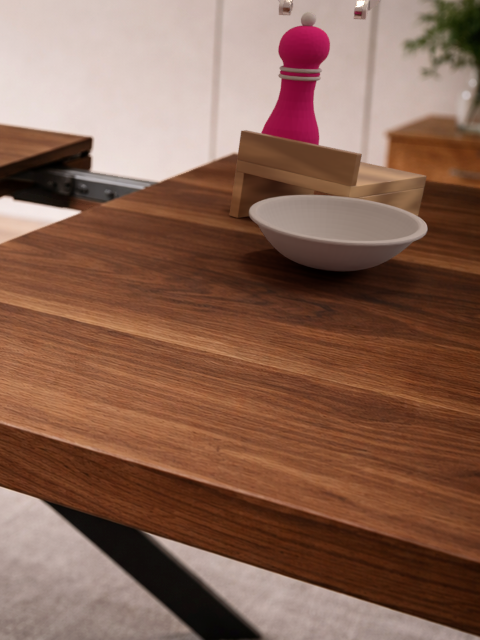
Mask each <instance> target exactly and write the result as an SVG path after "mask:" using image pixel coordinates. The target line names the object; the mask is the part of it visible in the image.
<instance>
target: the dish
mask: <svg viewBox="0 0 480 640" xmlns="http://www.w3.org/2000/svg"><path fill="white" fill-rule="evenodd" d="M248 217H249V218H250V220H252V222H254V223H255V224H256V225H257V226H258V228H259V230H260V231H261V234H262V235H263V236H264V237H265V239H266V240H267V242H268V243H269V244H270V245H271V246H272V248H274V249H275V250H276V251H277V252H278V253H279V254H280V255H282V256H283V257H285V258H287V259H288V260H290V261H292V262H293V263H297V264H299V265H302V266H304V267H308V268H311V269H315V270H316V269H317V270H321V271H327V272H355V271H356V272H357V271H363V270H367V269H371V268H373V267H377V266H379V265H381V264H383V263H386V262H388V261H389V260H392V259H393V258H395V257H396V256H397V255H399V254H400V253H402V252H403V251H404V250H406V249H407V248H408V247H409V246H411V244H412V243H413V242H416V241H418V240H421V239H422V238H424V236H426V235H427V233H428V225H427V223H426V222H425V221H424V219H422V218H421V217H420V216H419V215H418V216H416V215H414V214H412V213H410V212H408V211H405V210H403V209H400V208H397V207H394V206H390V205H387V204H383V203H378V202H374V201H369V200H363V199H357V198H349V197H340V196H334V195H329V194H325V195H324V194H314V195H290V196H280V197H274V198H269V199H265V200H262V201H259V202H257V203H255V204H254V205H252V206H251V207H250V210H249V216H248Z"/></svg>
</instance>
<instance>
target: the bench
mask: <svg viewBox="0 0 480 640" xmlns="http://www.w3.org/2000/svg"><path fill="white" fill-rule="evenodd" d="M236 157H237V158H236V159H237V160H236V164H235V165H236V166H235V172H234V179H233V187H232V194H231V200H230V208H229V217H232V218H236V219H241V218H246V217H247V218H248V217H250V216H249V210H250V207H251V206H252V205H254V204H255V203H257V202H259V201H262V200H265V199H269V198H274V197H280V196H290V195H315V192H318V193H322V194H325V195H329V196H340V197H349V198H357V199H363V200H369V201H374V202H378V203H383V204H387V205H390V206H394V207H397V208H400V209H403V210H405V211H408V212H410V213H412V214H414V215H416V216H418V217H419V214H420V209H421V204H422V200H423V195H424V191H425V187H426V181H427V177H428V176H427V175H425V174H421V173H416V172H411V171H406V170H401V169H396V168H392V167H387V166H383V165H377V164H372V163H369V162H368V163H367V162H363V161H362V153H360V152H354V151H350V150H345V149H340V148H335V147H330V146H325V145H320V144H319V145H316V144H311V143H306V142H301V141H296V140H291V139H287V138H282V137H277V136H272V135H267V134H262V133H261V132H257V131H252V130H247V129H245V130H244V129H243V130H241V131H240V136H239V144H238V151H237V156H236Z"/></svg>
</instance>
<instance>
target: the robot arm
mask: <svg viewBox="0 0 480 640" xmlns="http://www.w3.org/2000/svg"><path fill="white" fill-rule="evenodd" d="M278 2H279V5H278V15H279V16H291V15H292V11H293V9H294V3H293V2H294V0H278ZM379 3H381V0H356V3H355V6H354V10H353V20H362V21H363V20H364V21H366V20H367V16H368V13H369V11H371V10H372V9H373V8H374V7H377V5H378V4H379Z"/></svg>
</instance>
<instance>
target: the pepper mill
mask: <svg viewBox="0 0 480 640" xmlns="http://www.w3.org/2000/svg"><path fill="white" fill-rule="evenodd" d="M316 22H317V16H316V14H315V13H313V12H311V11H307V12H305V13H303V14H302V16H301V17H300V23H301V25H297V26H293V27H291V28H289V29H288V30H287V31H285V33H283V35H282V36H281V37H280V40H279V44H278V47H277V48H278V49H277V51H278V56H279V58H280V59H281V61H282V64H283V65H280V66H279V70H280V71H279V74H277V76H278V78H280V79H281V80H280V91H279V93H278V97H277V101H276V102H275V106H274V107H273V109H272V111H271V113H270V114H269V117H268V118H267V120H266V121H265V123H264V126H263V128H262V130H261V132H260V133H262V134H267V135H272V136H277V137H282V138H287V139H291V140H296V141H301V142H306V143H311V144H316V145H320V130H319V125H318V121H317V117H316V113H315V106H314V103H315V102H314V100H315V89H316V85H317V81H320V80H321V78H322V77H321V73H322V72H323V69H322V68H321V67H320V66H321V65H322V63H323V62H324V61H326V59H327V58H328V57H329V54H330V50H331V41H330V38H329V35H328V33H326V32H325V30H324V29H322V28H320V27H317V26H314V25H315V24H316Z"/></svg>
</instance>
